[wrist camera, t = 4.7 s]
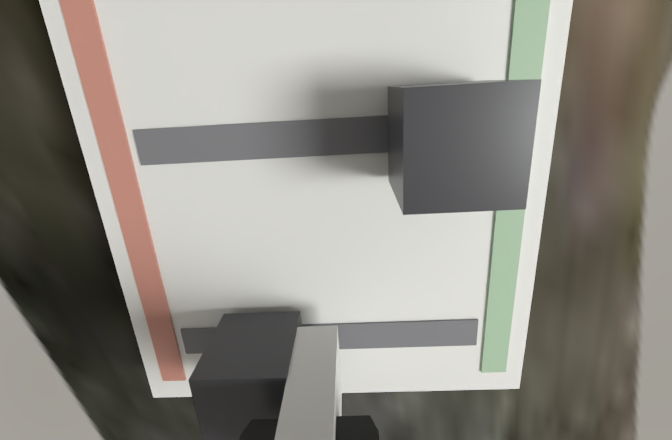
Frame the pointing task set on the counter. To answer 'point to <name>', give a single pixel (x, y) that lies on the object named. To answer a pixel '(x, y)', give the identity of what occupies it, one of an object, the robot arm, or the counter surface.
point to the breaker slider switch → (243, 372)
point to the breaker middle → (461, 145)
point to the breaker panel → (304, 176)
